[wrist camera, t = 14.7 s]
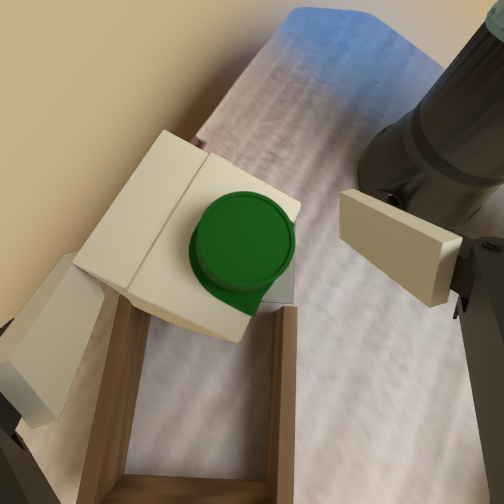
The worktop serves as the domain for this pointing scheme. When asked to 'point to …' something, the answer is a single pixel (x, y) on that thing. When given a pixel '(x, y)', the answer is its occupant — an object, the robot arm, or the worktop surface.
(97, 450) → the wooden tray
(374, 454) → the worktop surface
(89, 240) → the soya milk
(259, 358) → the worktop surface
